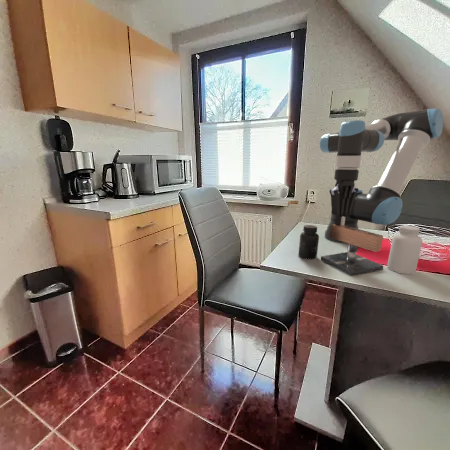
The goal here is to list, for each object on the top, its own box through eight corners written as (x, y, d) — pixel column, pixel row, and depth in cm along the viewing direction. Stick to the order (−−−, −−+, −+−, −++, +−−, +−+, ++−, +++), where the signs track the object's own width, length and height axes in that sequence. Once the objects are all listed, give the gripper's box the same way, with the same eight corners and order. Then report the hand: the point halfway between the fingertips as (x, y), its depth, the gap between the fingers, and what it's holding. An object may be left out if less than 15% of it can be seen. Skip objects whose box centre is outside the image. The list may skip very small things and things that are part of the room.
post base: (349, 255, 96) (351, 243, 95) (382, 269, 83) (385, 256, 82) (320, 260, 91) (322, 247, 90) (351, 276, 79) (353, 261, 77)
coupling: (334, 242, 94) (337, 223, 92) (379, 258, 79) (383, 235, 77) (329, 244, 92) (331, 224, 91) (373, 259, 78) (377, 236, 76)
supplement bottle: (318, 260, 91) (321, 229, 88) (299, 259, 92) (301, 228, 89) (315, 253, 97) (318, 224, 94) (297, 252, 99) (300, 223, 96)
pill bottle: (403, 276, 79) (412, 231, 75) (381, 266, 86) (388, 225, 82) (421, 273, 81) (431, 229, 77) (398, 263, 88) (406, 223, 84)
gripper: (349, 168, 92) (341, 228, 98) (325, 168, 86) (318, 233, 92) (368, 168, 85) (359, 233, 91) (344, 169, 80) (335, 238, 86)
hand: (338, 233), depth 92 cm, fingers closed
